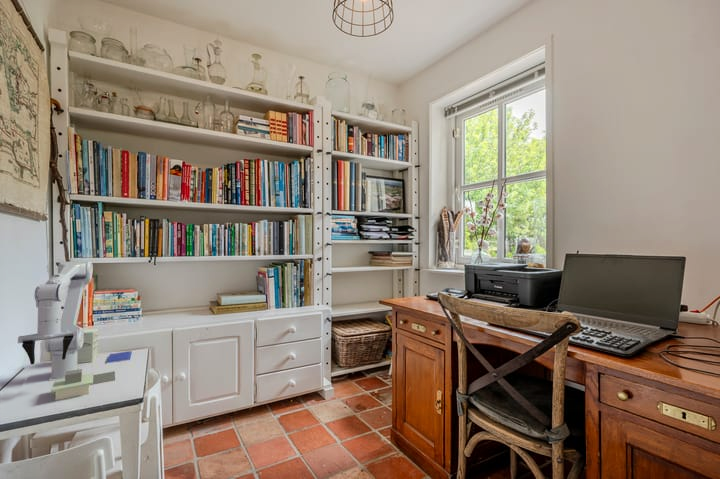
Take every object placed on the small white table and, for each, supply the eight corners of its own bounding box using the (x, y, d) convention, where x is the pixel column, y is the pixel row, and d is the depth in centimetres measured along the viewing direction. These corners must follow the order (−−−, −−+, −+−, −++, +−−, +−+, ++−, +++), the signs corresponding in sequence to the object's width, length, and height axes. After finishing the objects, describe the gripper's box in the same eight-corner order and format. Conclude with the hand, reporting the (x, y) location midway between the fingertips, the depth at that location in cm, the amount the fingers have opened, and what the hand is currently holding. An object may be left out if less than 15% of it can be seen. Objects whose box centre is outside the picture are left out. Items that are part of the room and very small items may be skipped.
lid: (54, 382, 110) (54, 371, 110) (93, 374, 116) (93, 364, 116) (50, 392, 102) (51, 380, 102) (92, 384, 108) (93, 372, 108)
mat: (77, 379, 121) (77, 377, 121) (114, 372, 128) (114, 371, 128) (74, 389, 113) (74, 388, 113) (115, 381, 119) (115, 380, 119)
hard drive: (109, 353, 147) (106, 362, 137) (131, 350, 151) (130, 358, 141) (109, 357, 147) (105, 366, 137) (131, 354, 151) (130, 362, 141)
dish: (58, 392, 110) (58, 382, 110) (89, 386, 115) (90, 376, 115) (55, 401, 103) (55, 390, 103) (88, 394, 108) (88, 384, 108)
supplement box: (70, 364, 137) (70, 333, 137) (77, 359, 143) (77, 329, 144) (92, 362, 140) (93, 331, 140) (98, 356, 146) (98, 327, 147)
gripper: (16, 325, 104) (14, 369, 104) (76, 319, 113) (76, 359, 113) (20, 321, 110) (19, 363, 109) (78, 315, 119) (77, 354, 118)
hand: (48, 361), depth 111 cm, fingers open, 7 cm apart
